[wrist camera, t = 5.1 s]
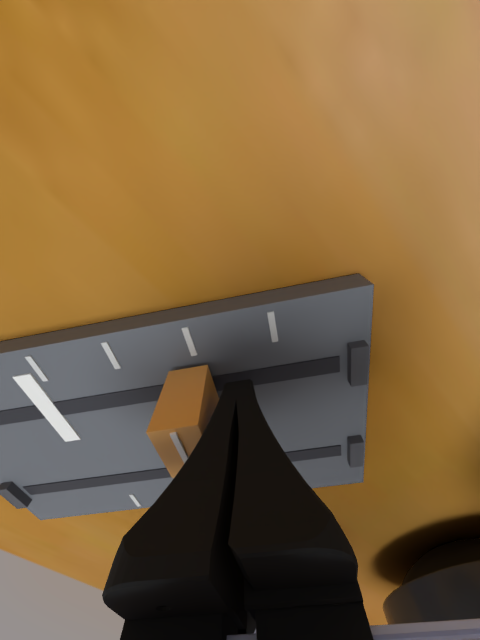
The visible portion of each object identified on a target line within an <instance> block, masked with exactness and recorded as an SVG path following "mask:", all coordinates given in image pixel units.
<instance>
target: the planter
mask: <svg viewBox="0 0 480 640" xmlns="http://www.w3.org/2000/svg"><path fill="white" fill-rule="evenodd" d="M383 611H384V614H385V617H386V619H387V622H388V625H389V624H405V623H420V622H435V621H450V620H465V619H480V539H466V540H459V541H455V542H451V543H447V544H444V545H441V546H439V547H436V548H434V549H432V550H430V551H429V552H427V553H426V554H425V555H423V556H422V557H421V558H420V559H419V560H418V561H417V562H416V563H415V564H414V565H413V566H412V567H411V569H410V570H409V571H408V573H407V574H406V576H405V578H404V580H403V583H402V586H400V587H399V588H397V589H396V590H394V591H393V592H392V593H391V594H390V595H389V596H388V597H387V598H386V599H385V601H384V603H383Z"/></svg>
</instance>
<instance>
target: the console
mask: <svg viewBox="0 0 480 640" xmlns="http://www.w3.org/2000/svg"><path fill="white" fill-rule="evenodd" d="M373 289H374V284H372V283H371V282H370V281H368V280H367V279H366V278H364V277H363V276H362V275H360V274H354V275H348V276H343V277H338V278H332V279H327V280H322V281H317V282H311V283H306V284H301V285H296V286H290V287H285V288H280V289H275V290H269V291H264V292H259V293H253V294H248V295H243V296H238V297H232V298H227V299H222V300H217V301H211V302H206V303H201V304H196V305H190V306H185V307H180V308H174V309H169V310H164V311H159V312H153V313H148V314H143V315H138V316H132V317H127V318H122V319H117V320H111V321H106V322H101V323H95V324H90V325H85V326H80V327H74V328H69V329H64V330H59V331H53V332H48V333H43V334H38V335H32V336H27V337H22V338H17V339H11V340H6V341H1V342H0V495H1V496H3V497H4V498H5V499H6V500H7V501H9V502H10V503H11V504H12V505H13V506H15V507H16V508H17V509H19V508H27V509H28V510H29V511H30V512H32V513H33V514H34V515H35V516H36V517H37V518H39V519H40V520H45V519H53V518H62V517H71V516H79V515H88V514H96V513H105V512H113V511H122V510H130V509H139V508H147V507H151V506H152V505H153V504H154V503H155V501H156V500H157V499H158V498H159V496H160V495H161V494H162V493H163V491H164V490H165V489H166V488H167V487H168V485H169V484H170V483H171V481H172V480H173V479H174V478H172V477H171V475H170V474H169V472H168V470H167V468H166V467H165V465H164V463H163V461H162V460H161V458H160V456H159V454H158V453H157V451H156V449H155V447H154V446H153V444H152V442H151V440H150V439H149V437H148V435H147V433H146V431H147V429H148V426H149V423H150V421H151V418H152V415H153V413H154V410H155V407H156V404H157V402H158V399H159V396H160V394H161V391H162V388H163V386H164V383H165V380H166V378H167V375H168V372H169V371H173V370H179V369H185V368H191V367H197V366H203V365H208V367H209V370H210V373H211V376H212V379H213V382H214V385H215V388H216V391H217V394H218V397H219V399H220V396H221V393H222V391H223V388H224V385H225V384H226V383H228V382H235V381H241V380H248V379H250V380H252V381H253V385H254V389H255V394H256V398H257V401H258V404H259V406H260V409H261V411H262V413H263V415H264V417H265V419H266V421H267V423H268V425H269V427H270V429H271V431H272V432H273V434H274V436H275V438H276V439H277V441H278V443H279V444H280V446H281V447H282V449H283V450H284V452H285V453H286V455H287V456H288V458H289V459H290V461H291V462H292V464H293V465H294V466H295V468H296V469H297V470H298V472H299V473H300V474H301V476H302V477H303V478H304V480H305V481H306V482H307V484H308V485H309V486H310V487H311V488H318V487H326V486H335V485H343V484H352V483H360V482H363V475H364V457H365V438H366V419H367V401H368V382H369V364H370V345H371V326H372V308H373Z"/></svg>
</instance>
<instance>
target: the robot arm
mask: <svg viewBox="0 0 480 640" xmlns="http://www.w3.org/2000/svg"><path fill="white" fill-rule="evenodd" d="M357 573H358V563H357V559H356V557H355V554H354V552H353V549H352V547H351V545H350V543H349V541H348V539H347V538H346V536H345V534H344V532H343V531H342V529H341V527H340V525H339V524H338V522H337V521H336V519H335V517H334V515H333V514H332V512H331V511H330V510H329V509H328V507H327V506H326V505H325V504H324V503H323V502H322V501H321V499H320V498H319V497H318V496H317V495H316V493H315V492H314V491H313V490H312V489H311V487H310V486H309V485H308V484H307V482H306V481H305V480H304V478H303V477H302V476H301V474H300V473H299V472H298V470H297V469H296V468H295V466H294V465H293V464H292V462H291V461H290V459H289V458H288V456H287V455H286V453H285V452H284V450H283V449H282V447H281V446H280V444H279V443H278V441H277V439H276V438H275V436H274V434H273V432H272V431H271V429H270V427H269V425H268V423H267V421H266V419H265V417H264V415H263V413H262V411H261V409H260V406H259V404H258V401H257V398H256V394H255V389H254V385H253V381H252V380H250V379H248V380H241V381H235V382H228V383H226V384H225V385H224V388H223V391H222V393H221V396H220V399H219V401H218V403H217V406H216V408H215V410H214V412H213V414H212V417H211V419H210V421H209V423H208V425H207V427H206V428H205V430H204V432H203V434H202V436H201V438H200V440H199V441H198V443H197V445H196V446H195V448H194V450H193V451H192V453H191V454H190V456H189V458H188V459H187V461H186V462H185V463H184V465H183V466H182V468H181V469H180V471H179V472H178V473H177V475H176V476H175V477H174V479H173V480H172V481H171V483H170V484H169V485H168V487H167V488H166V489H165V490H164V491H163V493H162V494H161V495H160V496H159V498H158V499H157V500H156V501H155V503H154V504H153V505H152V506H151V507H150V508H149V510H148V511H147V512H146V513H145V514H144V515H143V516H142V517H141V518H140V519H139V520H138V521H137V523H136V524H135V525H134V526H133V527H132V528H131V529H130V530H129V531H128V532H127V533H126V534H125V535H124V536H123V539H122V541H121V544H120V546H119V548H118V551H117V553H116V556H115V558H114V561H113V564H112V567H111V570H110V573H109V576H108V579H107V582H106V585H105V588H104V591H103V595H102V596H103V600H104V603H105V604H106V605H107V606H108V607H109V608H110V609H111V610H113V611H114V612H116V613H117V614H118V615H119V616H121V617H122V618H123V619H125V623H124V626H123V630H122V634H121V638H120V640H480V619H465V620H450V621H435V622H420V623H405V624H389V625H374V626H369V622H368V619H367V616H366V612H365V609H364V606H363V598H362V594H361V591H360V587H359V584H358V581H357Z"/></svg>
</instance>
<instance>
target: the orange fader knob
mask: <svg viewBox="0 0 480 640" xmlns="http://www.w3.org/2000/svg"><path fill="white" fill-rule="evenodd" d="M218 401H219V397H218V394H217V391H216V388H215V385H214V382H213V379H212V376H211V373H210V370H209V367H208V365H203V366H197V367H191V368H185V369H179V370H173V371H169V372H168V375H167V378H166V380H165V383H164V386H163V388H162V391H161V394H160V396H159V399H158V402H157V404H156V407H155V410H154V413H153V415H152V418H151V421H150V423H149V426H148V429H147V431H146V433H147V435H148V437H149V439H150V440H151V442H152V444H153V446H154V447H155V449H156V451H157V453H158V454H159V456H160V458H161V460H162V461H163V463H164V465H165V467H166V468H167V470H168V472H169V474H170V475H171V477H172V478H174V477H175V476H176V475H177V473H178V472H179V471H180V469H181V468H182V466H183V465H184V463H185V462H186V461H187V459H188V458H189V456H190V454H191V453H192V451H193V450H194V448H195V446H196V445H197V443H198V441H199V440H200V438H201V436H202V434H203V432H204V430H205V428H206V427H207V425H208V423H209V421H210V419H211V417H212V414H213V412H214V410H215V408H216V406H217V403H218Z"/></svg>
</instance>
